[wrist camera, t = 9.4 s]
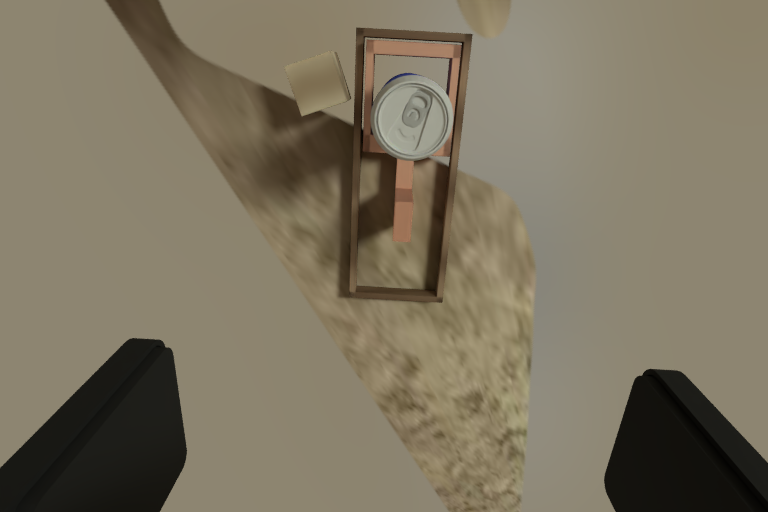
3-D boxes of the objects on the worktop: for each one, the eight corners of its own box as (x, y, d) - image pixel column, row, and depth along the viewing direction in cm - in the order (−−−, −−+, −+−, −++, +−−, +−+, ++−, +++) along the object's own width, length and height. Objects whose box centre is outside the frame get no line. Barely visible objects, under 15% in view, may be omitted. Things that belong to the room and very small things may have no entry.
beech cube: (294, 67, 41) (283, 66, 37) (336, 52, 40) (330, 50, 37) (310, 112, 42) (301, 116, 39) (351, 98, 42) (346, 101, 38)
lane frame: (357, 29, 40) (356, 27, 38) (469, 35, 39) (472, 34, 38) (350, 290, 49) (349, 297, 48) (440, 295, 49) (442, 302, 47)
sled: (368, 41, 40) (363, 36, 34) (457, 46, 40) (468, 42, 34) (362, 216, 46) (356, 238, 40) (439, 221, 46) (446, 244, 40)
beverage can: (419, 142, 43) (430, 177, 29) (369, 118, 42) (355, 142, 28) (445, 89, 41) (470, 99, 27) (393, 62, 40) (391, 59, 27)
